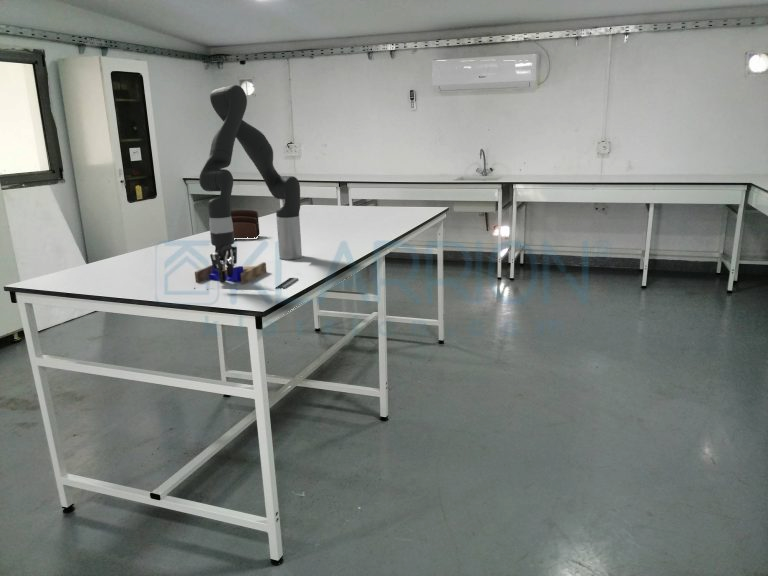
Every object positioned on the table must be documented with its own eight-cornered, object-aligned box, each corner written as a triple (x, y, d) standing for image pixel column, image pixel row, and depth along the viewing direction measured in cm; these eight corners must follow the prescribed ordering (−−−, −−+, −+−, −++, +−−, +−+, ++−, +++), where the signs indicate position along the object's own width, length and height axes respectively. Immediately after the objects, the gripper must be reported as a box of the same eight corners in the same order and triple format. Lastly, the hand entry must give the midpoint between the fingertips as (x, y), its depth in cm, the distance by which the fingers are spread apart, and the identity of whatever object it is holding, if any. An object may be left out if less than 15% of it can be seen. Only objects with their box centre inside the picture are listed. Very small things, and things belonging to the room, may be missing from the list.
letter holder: (220, 237, 283) (218, 210, 280) (260, 236, 285) (257, 208, 281) (216, 241, 274) (213, 212, 270) (257, 239, 275) (254, 211, 271)
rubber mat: (269, 278, 196) (268, 277, 195) (298, 279, 193) (298, 278, 193) (253, 287, 184) (253, 285, 184) (284, 288, 182) (284, 286, 182)
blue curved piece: (210, 282, 191) (208, 265, 189) (220, 279, 195) (218, 263, 193) (234, 286, 185) (232, 269, 183) (244, 283, 188) (242, 266, 187)
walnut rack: (221, 274, 204) (220, 261, 202) (266, 276, 199) (265, 262, 198) (196, 286, 188) (194, 271, 186) (244, 288, 184) (243, 273, 182)
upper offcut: (225, 272, 201) (225, 266, 200) (256, 271, 201) (255, 265, 200) (222, 275, 196) (221, 269, 195) (253, 274, 196) (253, 269, 196)
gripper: (222, 226, 193) (227, 274, 197) (200, 233, 179) (205, 284, 184) (242, 227, 191) (246, 274, 196) (220, 234, 178) (226, 285, 182)
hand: (226, 279), depth 190 cm, fingers closed on blue curved piece, 5 cm apart
